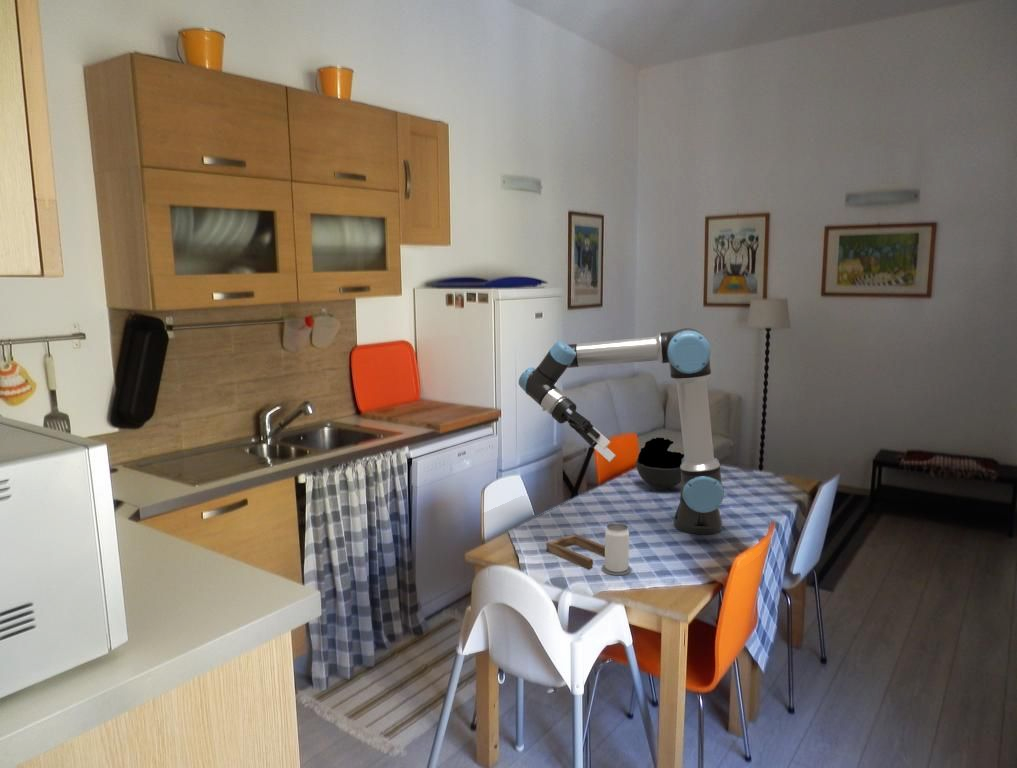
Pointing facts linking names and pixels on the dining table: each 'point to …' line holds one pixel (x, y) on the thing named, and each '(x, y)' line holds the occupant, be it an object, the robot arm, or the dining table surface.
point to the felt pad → (616, 572)
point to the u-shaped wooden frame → (560, 550)
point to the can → (616, 547)
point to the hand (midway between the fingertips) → (610, 452)
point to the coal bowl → (659, 464)
